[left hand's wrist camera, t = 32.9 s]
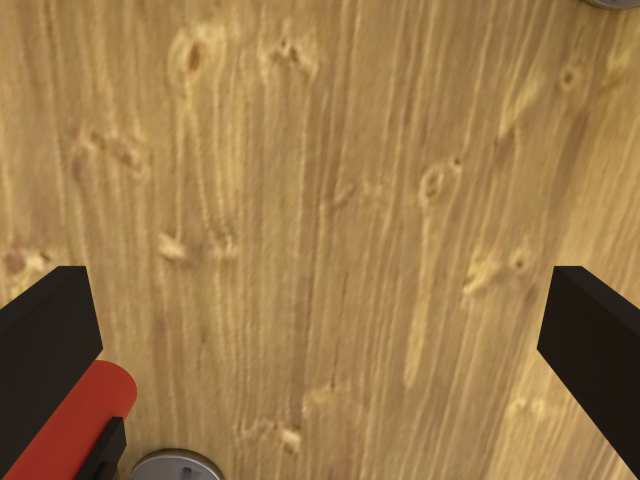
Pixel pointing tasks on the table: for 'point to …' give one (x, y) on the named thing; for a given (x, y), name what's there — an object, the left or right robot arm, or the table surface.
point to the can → (77, 424)
